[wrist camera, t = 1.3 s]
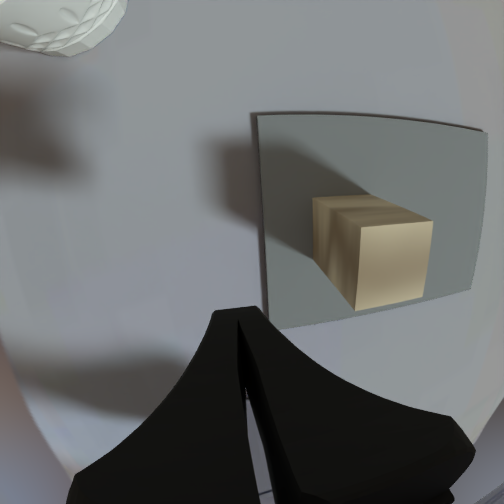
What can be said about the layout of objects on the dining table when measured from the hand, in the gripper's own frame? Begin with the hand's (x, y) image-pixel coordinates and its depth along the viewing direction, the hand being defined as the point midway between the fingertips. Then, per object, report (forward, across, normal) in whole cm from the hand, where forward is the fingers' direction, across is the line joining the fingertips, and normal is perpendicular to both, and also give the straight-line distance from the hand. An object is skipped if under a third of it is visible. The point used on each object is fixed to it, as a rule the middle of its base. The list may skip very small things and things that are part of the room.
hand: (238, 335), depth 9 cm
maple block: (+10, -8, 0) cm, 12 cm away
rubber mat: (+10, -12, 0) cm, 16 cm away
